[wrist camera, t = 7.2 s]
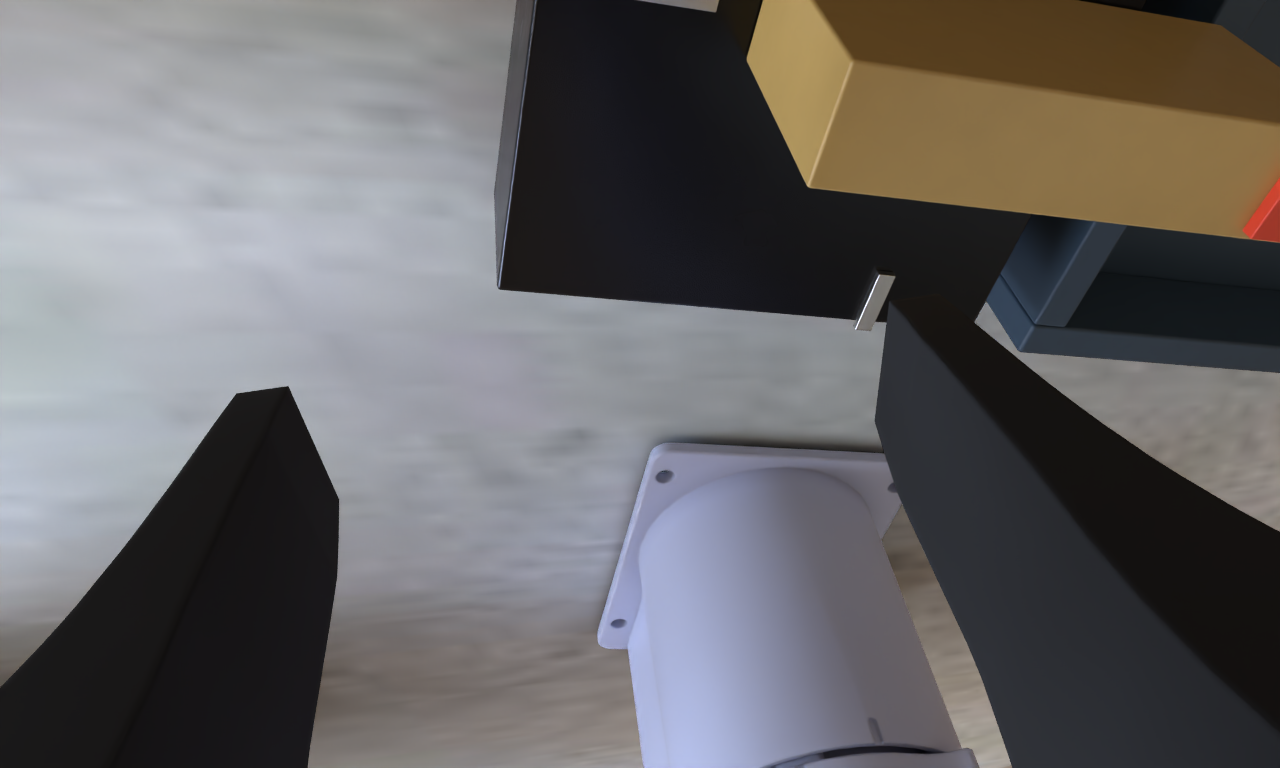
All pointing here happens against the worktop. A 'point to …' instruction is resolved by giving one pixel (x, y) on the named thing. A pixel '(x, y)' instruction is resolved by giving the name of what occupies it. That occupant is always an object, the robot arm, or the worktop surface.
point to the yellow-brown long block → (1028, 109)
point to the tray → (1150, 267)
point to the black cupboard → (700, 178)
